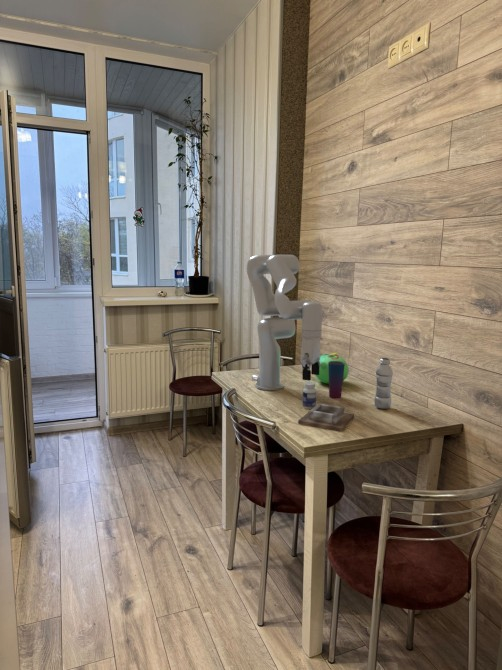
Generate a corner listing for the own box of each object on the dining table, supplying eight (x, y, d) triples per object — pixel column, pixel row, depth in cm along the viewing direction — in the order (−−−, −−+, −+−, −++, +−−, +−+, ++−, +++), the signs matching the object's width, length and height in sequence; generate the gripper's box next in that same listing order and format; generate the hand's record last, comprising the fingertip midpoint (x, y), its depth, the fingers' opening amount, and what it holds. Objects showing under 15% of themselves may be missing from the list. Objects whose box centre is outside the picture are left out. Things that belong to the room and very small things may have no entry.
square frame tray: (298, 423, 170) (298, 412, 169) (313, 410, 184) (313, 400, 183) (341, 431, 163) (341, 419, 162) (354, 417, 177) (354, 406, 176)
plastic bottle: (382, 411, 183) (385, 361, 180) (370, 406, 189) (372, 357, 186) (394, 409, 186) (397, 359, 183) (382, 404, 192) (385, 356, 189)
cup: (343, 399, 198) (344, 364, 195) (326, 398, 199) (328, 364, 196) (343, 395, 204) (344, 361, 202) (327, 394, 206) (328, 360, 203)
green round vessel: (354, 387, 216) (355, 356, 213) (319, 389, 212) (320, 357, 209) (337, 377, 233) (338, 348, 230) (305, 379, 229) (306, 349, 226)
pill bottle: (301, 405, 191) (301, 381, 189) (314, 404, 191) (315, 381, 189) (303, 409, 185) (304, 385, 184) (317, 409, 186) (318, 385, 184)
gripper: (310, 330, 192) (309, 371, 195) (294, 336, 177) (293, 381, 180) (328, 331, 189) (327, 373, 191) (313, 338, 173) (312, 383, 176)
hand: (311, 377), depth 185 cm, fingers open, 9 cm apart
